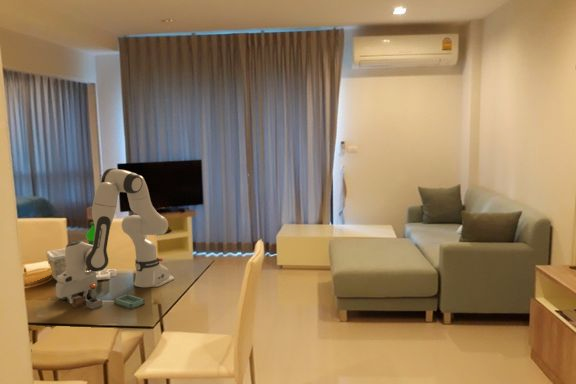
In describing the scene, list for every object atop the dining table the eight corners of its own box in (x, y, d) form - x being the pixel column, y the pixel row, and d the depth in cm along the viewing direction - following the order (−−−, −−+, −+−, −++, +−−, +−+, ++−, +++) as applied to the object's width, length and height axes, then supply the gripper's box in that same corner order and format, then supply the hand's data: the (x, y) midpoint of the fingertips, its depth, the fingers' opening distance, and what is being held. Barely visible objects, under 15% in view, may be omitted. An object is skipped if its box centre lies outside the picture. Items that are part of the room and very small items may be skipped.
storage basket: (53, 281, 273) (51, 256, 271) (47, 274, 285) (45, 250, 283) (96, 273, 287) (95, 249, 285) (88, 267, 300) (87, 244, 298)
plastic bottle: (104, 261, 313) (102, 223, 310) (86, 262, 310) (84, 224, 306) (105, 256, 323) (102, 220, 319) (88, 258, 319) (85, 221, 316)
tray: (128, 298, 246) (127, 294, 246) (144, 304, 239) (144, 299, 239) (114, 303, 240) (114, 298, 240) (131, 309, 233) (130, 304, 232)
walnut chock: (84, 305, 237) (83, 297, 236) (76, 308, 234) (76, 299, 233) (79, 304, 239) (79, 295, 239) (72, 306, 236) (71, 297, 235)
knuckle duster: (82, 283, 271) (84, 275, 285) (115, 280, 277) (116, 272, 291) (81, 277, 271) (84, 269, 285) (115, 274, 276) (116, 267, 290)
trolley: (79, 292, 256) (77, 253, 253) (110, 303, 241) (107, 261, 237) (58, 298, 246) (55, 258, 243) (88, 310, 231) (85, 267, 228)
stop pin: (95, 304, 239) (94, 283, 237) (99, 305, 237) (98, 284, 235) (89, 306, 236) (87, 285, 234) (93, 308, 234) (91, 286, 232)
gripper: (91, 267, 244) (93, 293, 246) (52, 278, 228) (54, 306, 230) (99, 269, 241) (100, 296, 243) (60, 280, 224) (62, 309, 226)
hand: (78, 301), depth 236 cm, fingers open, 5 cm apart
